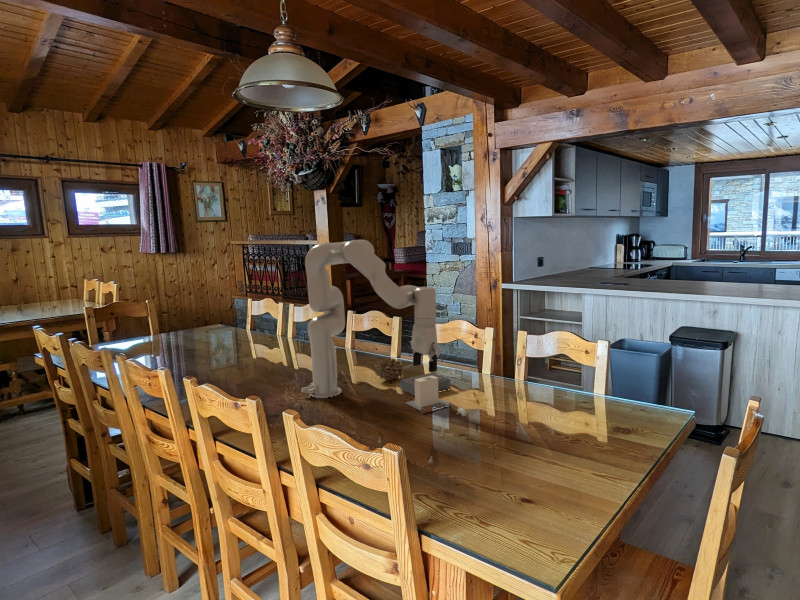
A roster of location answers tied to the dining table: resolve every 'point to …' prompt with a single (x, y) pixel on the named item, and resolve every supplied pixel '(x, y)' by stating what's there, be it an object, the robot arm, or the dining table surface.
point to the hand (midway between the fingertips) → (424, 368)
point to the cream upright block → (426, 391)
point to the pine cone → (390, 369)
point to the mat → (437, 405)
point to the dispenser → (409, 383)
